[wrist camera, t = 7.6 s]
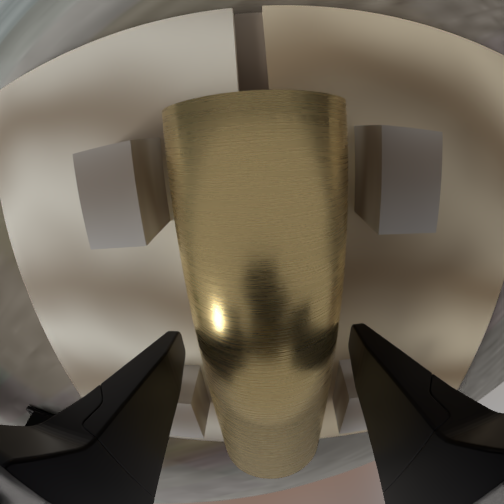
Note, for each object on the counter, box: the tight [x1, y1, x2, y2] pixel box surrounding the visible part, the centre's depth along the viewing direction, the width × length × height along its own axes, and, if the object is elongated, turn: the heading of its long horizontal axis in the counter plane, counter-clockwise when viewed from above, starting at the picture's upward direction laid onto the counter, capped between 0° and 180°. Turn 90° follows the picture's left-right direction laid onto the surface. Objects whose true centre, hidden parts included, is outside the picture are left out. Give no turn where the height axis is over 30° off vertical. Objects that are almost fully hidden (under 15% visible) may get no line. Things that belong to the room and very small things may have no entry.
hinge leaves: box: [0, 5, 504, 442], centre depth 11 cm, size 22×25×4 cm
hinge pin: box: [162, 89, 348, 479], centre depth 9 cm, size 14×4×4 cm, turn 4°
